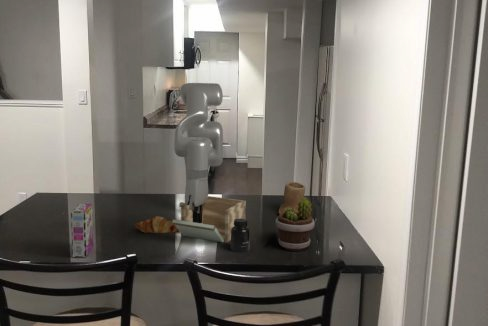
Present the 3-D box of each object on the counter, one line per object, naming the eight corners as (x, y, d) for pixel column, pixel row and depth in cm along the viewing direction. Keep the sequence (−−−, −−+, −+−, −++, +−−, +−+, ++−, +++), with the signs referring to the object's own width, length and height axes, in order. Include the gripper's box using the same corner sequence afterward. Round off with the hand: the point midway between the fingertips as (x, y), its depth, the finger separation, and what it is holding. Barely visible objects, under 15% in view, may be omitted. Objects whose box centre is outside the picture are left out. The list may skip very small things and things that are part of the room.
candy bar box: (87, 257, 161) (85, 211, 158) (72, 258, 161) (69, 211, 158) (94, 246, 172) (92, 203, 169) (80, 246, 172) (78, 203, 169)
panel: (185, 233, 183) (173, 219, 174) (224, 239, 177) (214, 225, 167) (184, 236, 182) (172, 222, 173) (223, 243, 176) (212, 228, 167)
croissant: (186, 240, 191) (189, 221, 193) (179, 236, 181) (183, 216, 184) (137, 235, 195) (140, 216, 197) (128, 231, 185) (132, 211, 188)
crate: (201, 225, 199) (201, 195, 197) (245, 232, 191) (245, 200, 189) (181, 237, 184) (181, 204, 181) (227, 245, 176) (228, 211, 174)
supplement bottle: (247, 256, 165) (248, 223, 163) (228, 254, 167) (228, 222, 164) (251, 249, 172) (251, 218, 170) (232, 248, 173) (233, 216, 171)
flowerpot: (274, 253, 169) (276, 199, 165) (274, 239, 184) (275, 189, 180) (315, 254, 168) (318, 200, 164) (311, 240, 183) (313, 190, 180)
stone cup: (303, 219, 211) (304, 186, 208) (276, 217, 213) (277, 185, 211) (305, 210, 225) (306, 179, 223) (280, 208, 228) (281, 178, 225)
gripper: (198, 169, 179) (198, 216, 182) (177, 176, 165) (178, 226, 168) (215, 171, 176) (215, 218, 179) (196, 178, 162) (196, 229, 165)
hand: (197, 222), depth 174 cm, fingers closed
